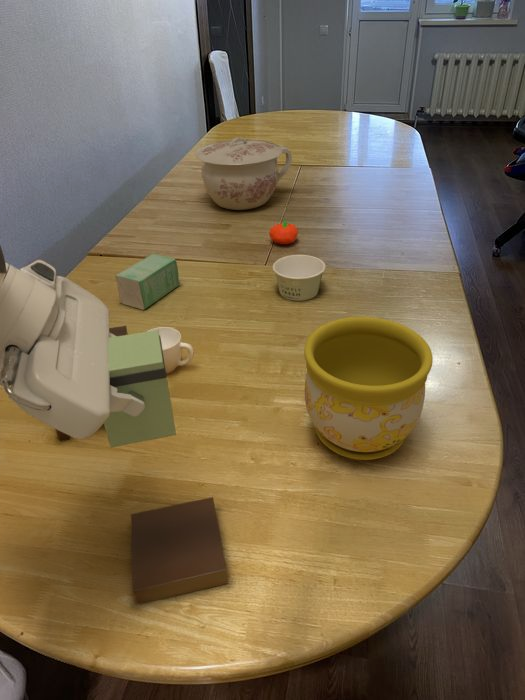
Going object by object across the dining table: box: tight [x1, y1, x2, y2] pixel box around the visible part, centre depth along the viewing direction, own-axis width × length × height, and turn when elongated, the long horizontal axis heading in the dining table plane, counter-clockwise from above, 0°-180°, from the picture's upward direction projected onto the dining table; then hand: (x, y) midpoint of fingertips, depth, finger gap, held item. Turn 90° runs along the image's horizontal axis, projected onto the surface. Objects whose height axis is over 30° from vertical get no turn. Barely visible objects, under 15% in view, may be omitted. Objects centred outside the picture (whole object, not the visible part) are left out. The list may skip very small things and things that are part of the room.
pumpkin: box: [268, 220, 299, 245], centre depth 142 cm, size 7×8×6 cm
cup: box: [146, 326, 195, 374], centre depth 97 cm, size 8×10×7 cm
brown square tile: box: [130, 496, 229, 605], centre depth 66 cm, size 11×11×3 cm
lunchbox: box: [103, 330, 177, 448], centre depth 55 cm, size 6×7×10 cm
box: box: [115, 253, 180, 311], centre depth 121 cm, size 7×14×8 cm, turn 150°
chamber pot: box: [194, 137, 293, 211], centre depth 165 cm, size 28×28×21 cm
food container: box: [272, 254, 326, 302], centre depth 120 cm, size 12×12×6 cm
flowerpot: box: [303, 316, 434, 461], centre depth 78 cm, size 18×18×16 cm
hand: (139, 385), depth 55 cm, fingers closed on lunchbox, 6 cm apart
